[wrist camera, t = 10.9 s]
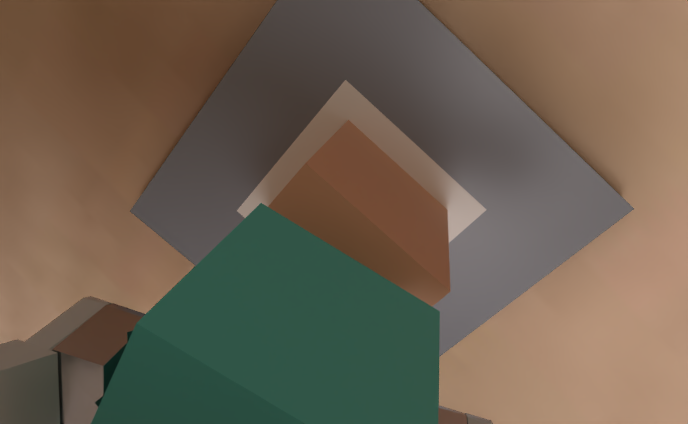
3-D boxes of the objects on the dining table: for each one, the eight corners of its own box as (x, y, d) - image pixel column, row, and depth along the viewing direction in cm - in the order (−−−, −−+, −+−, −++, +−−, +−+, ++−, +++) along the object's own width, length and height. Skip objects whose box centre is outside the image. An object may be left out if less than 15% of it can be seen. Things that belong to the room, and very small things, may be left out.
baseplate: (372, 391, 23) (369, 410, 22) (145, 201, 22) (129, 211, 21) (622, 197, 18) (634, 209, 17) (341, -74, 16) (333, -81, 15)
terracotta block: (360, 289, 20) (329, 390, 14) (269, 210, 19) (200, 284, 14) (447, 209, 18) (450, 291, 12) (348, 119, 17) (305, 163, 12)
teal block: (339, 433, 12) (285, 643, 8) (187, 342, 12) (52, 508, 8) (439, 311, 10) (437, 502, 6) (261, 202, 10) (136, 323, 6)
